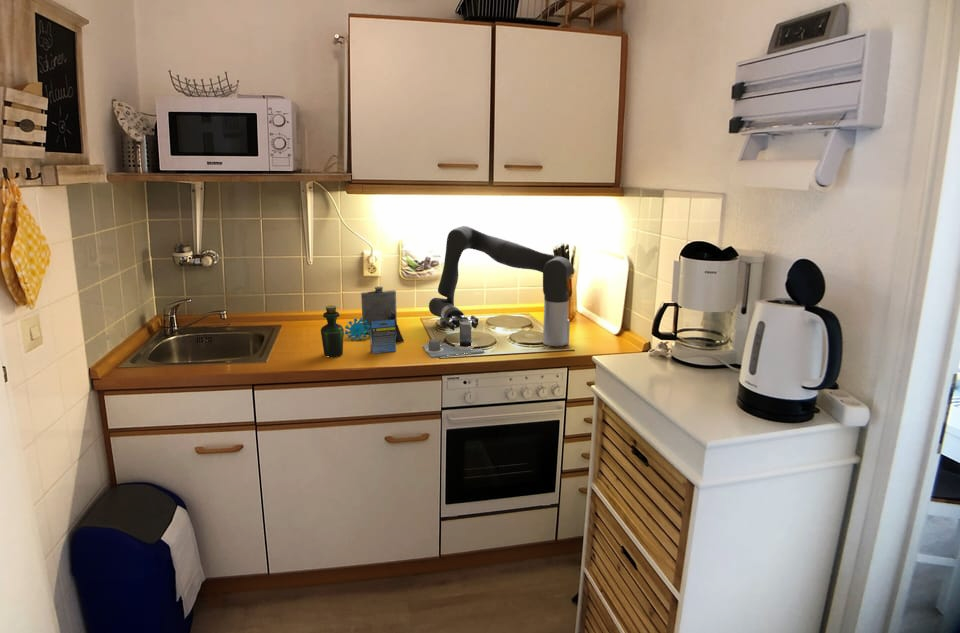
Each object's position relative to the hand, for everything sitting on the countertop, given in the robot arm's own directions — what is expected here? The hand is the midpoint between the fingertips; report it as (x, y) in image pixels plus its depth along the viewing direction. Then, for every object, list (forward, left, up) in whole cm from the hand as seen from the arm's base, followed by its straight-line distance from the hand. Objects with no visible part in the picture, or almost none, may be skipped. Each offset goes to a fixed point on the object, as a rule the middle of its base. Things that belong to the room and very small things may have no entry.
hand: (464, 326), depth 237 cm
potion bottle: (+48, -6, -8) cm, 49 cm away
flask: (+26, -35, -8) cm, 44 cm away
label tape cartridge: (+30, -5, -8) cm, 32 cm away
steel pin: (0, +1, -7) cm, 8 cm away
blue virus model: (+36, -24, -8) cm, 44 cm away
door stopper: (+25, -17, -8) cm, 31 cm away
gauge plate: (+5, +1, -8) cm, 10 cm away
